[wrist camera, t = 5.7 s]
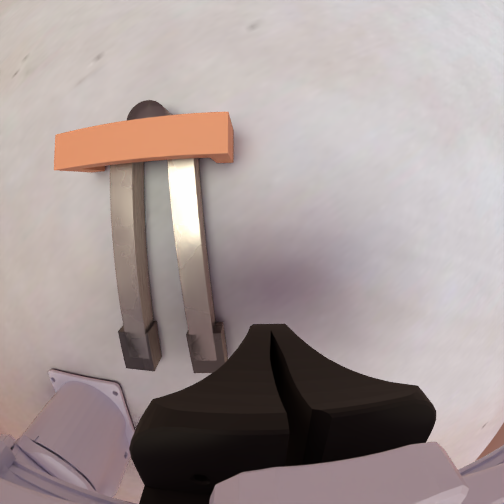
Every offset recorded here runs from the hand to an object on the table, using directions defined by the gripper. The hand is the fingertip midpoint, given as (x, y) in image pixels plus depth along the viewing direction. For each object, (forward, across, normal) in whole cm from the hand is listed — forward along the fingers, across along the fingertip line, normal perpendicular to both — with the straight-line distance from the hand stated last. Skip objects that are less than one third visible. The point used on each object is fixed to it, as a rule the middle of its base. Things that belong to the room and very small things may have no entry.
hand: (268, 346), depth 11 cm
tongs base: (+8, +7, -3) cm, 11 cm away
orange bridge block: (+8, +7, -9) cm, 13 cm away
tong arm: (+8, +4, -1) cm, 9 cm away
